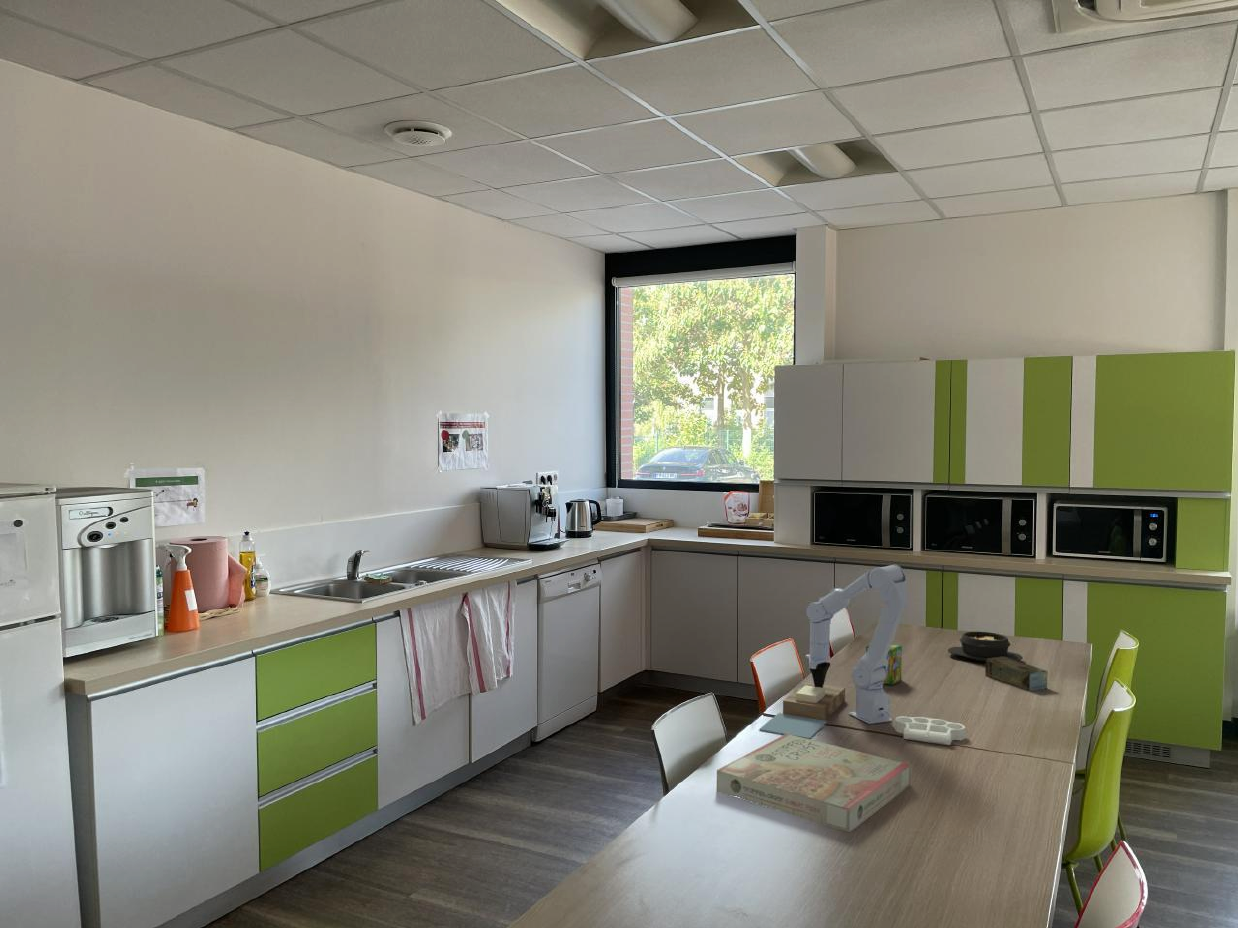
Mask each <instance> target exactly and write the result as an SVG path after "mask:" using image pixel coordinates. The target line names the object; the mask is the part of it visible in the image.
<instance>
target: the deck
mask: <svg viewBox="0 0 1238 928" xmlns="http://www.w3.org/2000/svg"><path fill="white" fill-rule="evenodd" d="M805 685H806V686H813V687H815V685H814V682H809V681H806V682H804V684H801V686H800V687H798V688H797V689H796V690H795V691H793V692H792V693H791V694H790V695H788V696H787V697H786V698H785V699H783V700H782V714H788V715H794V716H800V717H806V718H812V719H818V720H824V721H827V719H829V718H830V716H831V715H832V714H833V713H834V712H836V710H838V708H840V706H842V705H843V704H844V702H846V687H842V686H836V685H829V684H824V685H823V688H825V696H824V697H823V698H821V699H820V700H819V701H818V702H817V703H812V702H806V701H799V700H796V693H797V692H798V691H799V690H800V689H802V688H803V687H804V686H805Z"/></svg>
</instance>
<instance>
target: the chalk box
mask: <svg viewBox="0 0 1238 928" xmlns="http://www.w3.org/2000/svg"><path fill="white" fill-rule="evenodd" d="M869 645H870V644H868V645H866V646H865V654H866V653H867V650H868V648H869ZM902 653H903V646H902V645H900V644H893V643H892V644H891V646H890V649H889V651H888V654H887V657H886V659H887V660H888V662H889V663H888V666H887V677H886V679H885V680H884V681H883V685H884V684H885V685H890V686H893V685H895V684H896V683H898V682H900V681H902V666H903V665H902V663H903V661H902V659H903V656H902V655H903V654H902Z"/></svg>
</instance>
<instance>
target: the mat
mask: <svg viewBox="0 0 1238 928" xmlns="http://www.w3.org/2000/svg"><path fill="white" fill-rule="evenodd" d="M827 723H828V721H827V720H825V721H824V720H818V719H812V718H806V717H800V716H794V715H788V714H783V712H782V713H781V712H778V713H777V714H776V715H774V716H773V717H772V718H771V719H769V720H768V721H767V722H766V723H765V724H764V725H762V726H761V727H760V728H759V730H758V731H760V732H765V733H770V734H776V735H782V736H783V735H785V734H789V735H793V736H798V737H802V738H806V739H810V740H812V738H813V737H814V736H815V735H816V734H817V733H818V732H819V731H820V730H821V729H822V728H823V727H824V726H825V725H826V724H827Z"/></svg>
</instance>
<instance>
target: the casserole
mask: <svg viewBox="0 0 1238 928" xmlns="http://www.w3.org/2000/svg"><path fill="white" fill-rule="evenodd" d="M959 641H960V643H961V646H952V647H950V648H948V649H947V652H948V653H949V654H951V655H955V656H959V657H963V658H967V659H969V660H971V661H974V662H979V663H985V660H986V659H987V658H993V657H1001V656H1003V657H1007V658H1010V659H1013V660H1016V661H1019V662H1020V661H1021V660H1023V659H1024V658H1023V656H1022V655H1021V654H1019V653H1015V652H1012V651H1009V647H1010V646H1011V643H1010V642H1009V638H1008V637H1007V636H1005V635H1003V634H999V633H995V632H989V631H967V632H964V633H963V634H962V636H961V638H959Z"/></svg>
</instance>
